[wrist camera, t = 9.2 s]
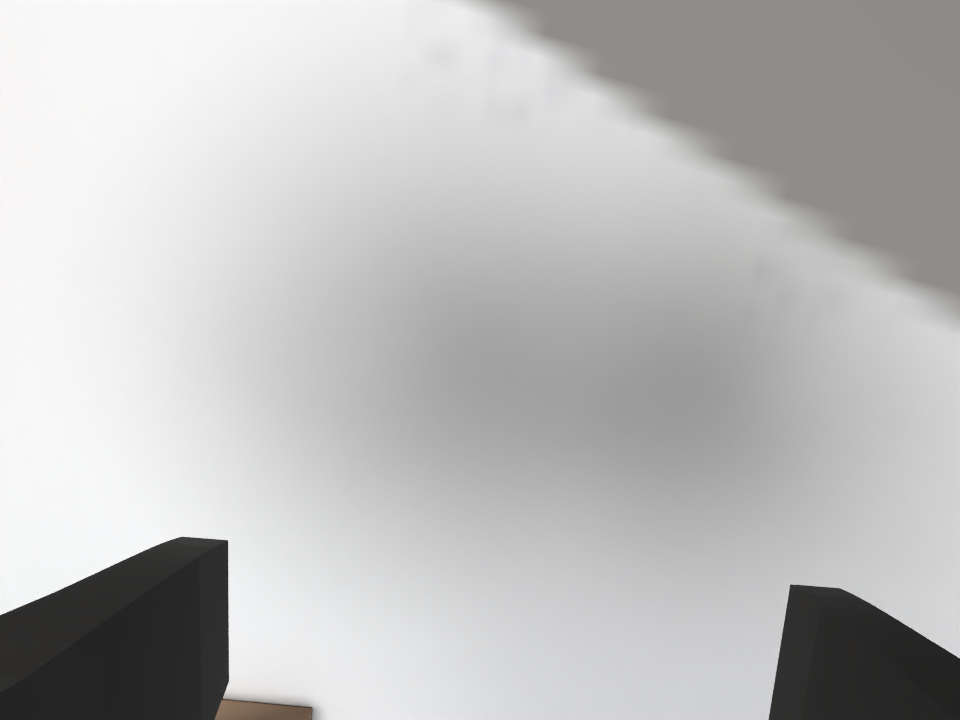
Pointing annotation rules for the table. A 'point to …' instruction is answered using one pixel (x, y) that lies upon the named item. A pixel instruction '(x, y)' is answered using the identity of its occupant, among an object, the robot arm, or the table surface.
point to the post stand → (260, 711)
